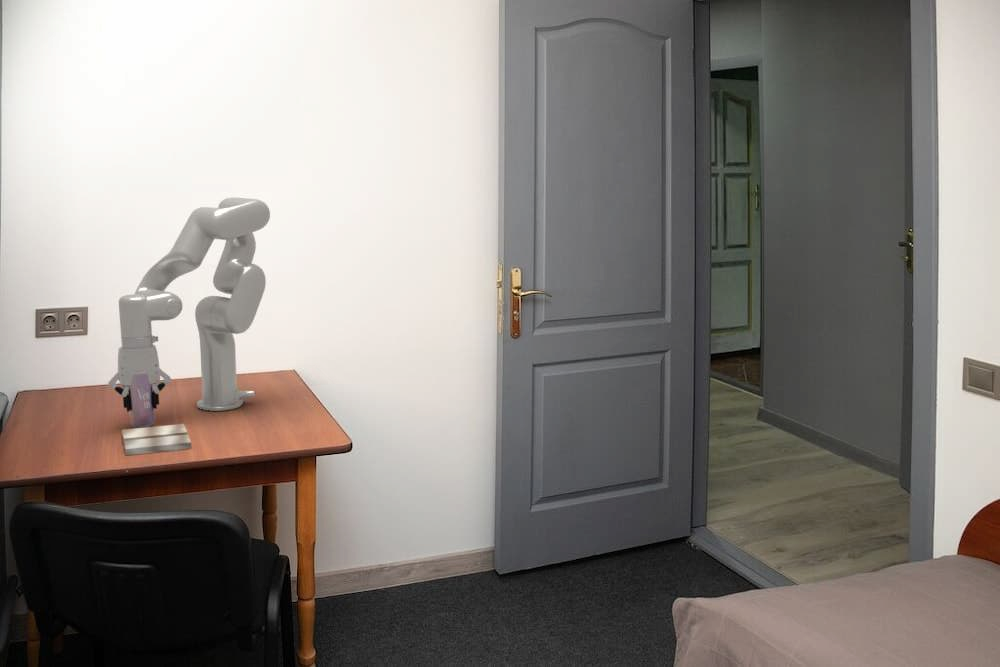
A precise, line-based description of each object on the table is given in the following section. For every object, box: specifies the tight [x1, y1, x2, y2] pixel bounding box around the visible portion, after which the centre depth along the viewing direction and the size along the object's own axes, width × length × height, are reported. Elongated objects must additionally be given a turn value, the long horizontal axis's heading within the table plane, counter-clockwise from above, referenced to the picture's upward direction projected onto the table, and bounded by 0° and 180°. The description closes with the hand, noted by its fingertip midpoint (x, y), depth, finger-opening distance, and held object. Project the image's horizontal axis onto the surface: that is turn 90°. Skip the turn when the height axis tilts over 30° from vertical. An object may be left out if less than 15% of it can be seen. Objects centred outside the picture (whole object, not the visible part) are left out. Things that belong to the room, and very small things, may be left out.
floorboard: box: [123, 433, 192, 456], centre depth 231 cm, size 15×8×2 cm, turn 114°
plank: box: [121, 423, 188, 443], centre depth 239 cm, size 15×8×2 cm, turn 114°
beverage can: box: [128, 372, 156, 428], centre depth 247 cm, size 6×6×15 cm
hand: (141, 408), depth 247 cm, fingers closed on beverage can, 6 cm apart
